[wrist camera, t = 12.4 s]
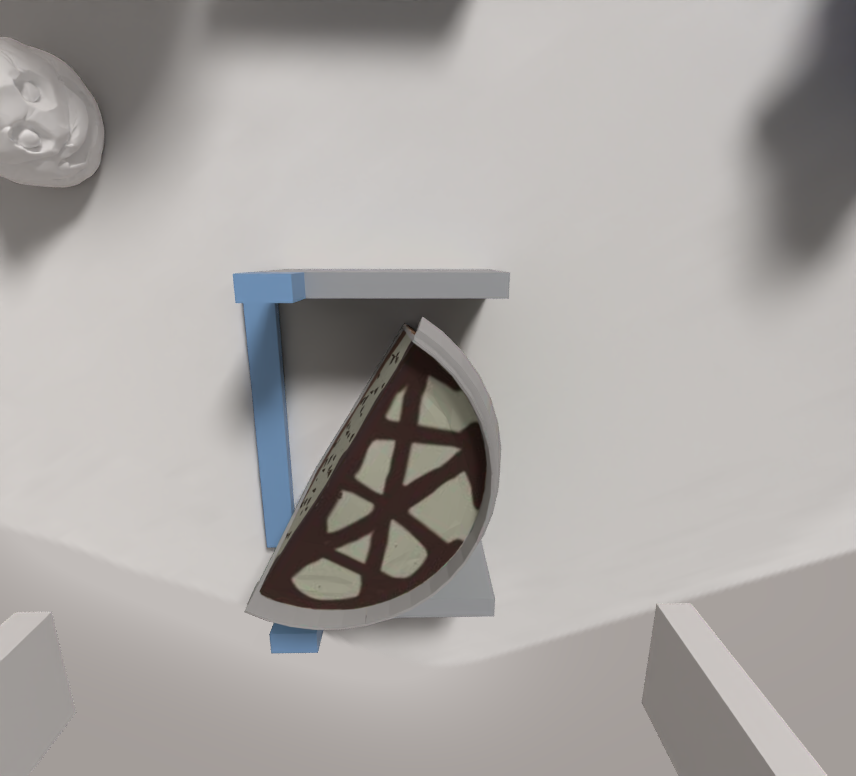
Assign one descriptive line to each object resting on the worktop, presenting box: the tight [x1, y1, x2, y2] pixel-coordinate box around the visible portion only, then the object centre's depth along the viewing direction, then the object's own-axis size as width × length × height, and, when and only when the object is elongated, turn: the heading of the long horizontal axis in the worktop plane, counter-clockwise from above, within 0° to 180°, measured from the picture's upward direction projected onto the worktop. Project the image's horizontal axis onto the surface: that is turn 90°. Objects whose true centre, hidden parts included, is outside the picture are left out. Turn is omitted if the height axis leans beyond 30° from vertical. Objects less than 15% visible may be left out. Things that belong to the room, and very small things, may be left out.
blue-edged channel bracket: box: [233, 269, 510, 653], centre depth 20 cm, size 12×31×7 cm, turn 0°
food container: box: [245, 317, 501, 630], centre depth 21 cm, size 12×6×10 cm, turn 148°
